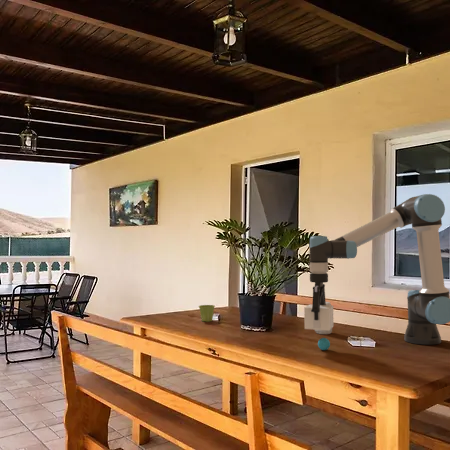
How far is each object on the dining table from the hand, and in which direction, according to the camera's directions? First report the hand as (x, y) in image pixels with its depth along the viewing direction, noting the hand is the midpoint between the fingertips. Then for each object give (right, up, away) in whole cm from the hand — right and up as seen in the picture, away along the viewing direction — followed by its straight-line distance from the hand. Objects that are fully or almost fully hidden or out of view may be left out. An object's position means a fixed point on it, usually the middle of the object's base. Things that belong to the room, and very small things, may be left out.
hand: (319, 325), depth 196 cm
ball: (+2, -7, -1) cm, 8 cm away
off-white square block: (0, -1, 0) cm, 1 cm away
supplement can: (+9, -11, +35) cm, 38 cm away
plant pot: (-50, -13, +73) cm, 89 cm away
